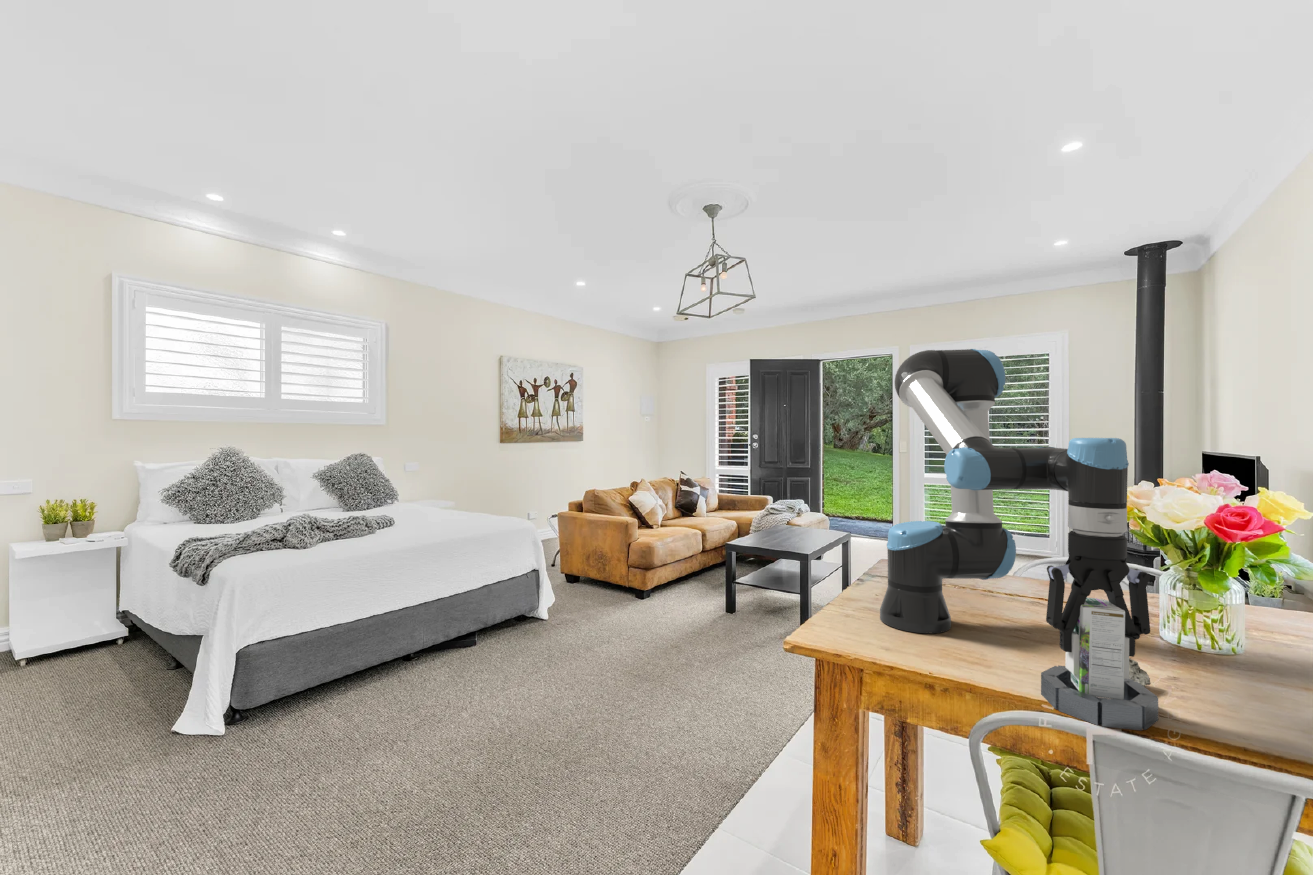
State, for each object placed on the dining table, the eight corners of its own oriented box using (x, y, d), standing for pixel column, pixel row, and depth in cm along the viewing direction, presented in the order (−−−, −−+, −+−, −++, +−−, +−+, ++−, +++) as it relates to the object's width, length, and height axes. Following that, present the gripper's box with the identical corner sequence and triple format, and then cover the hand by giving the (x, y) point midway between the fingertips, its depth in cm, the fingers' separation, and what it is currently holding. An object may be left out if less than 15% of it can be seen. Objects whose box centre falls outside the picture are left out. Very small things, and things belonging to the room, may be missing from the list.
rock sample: (1088, 671, 94) (1100, 630, 98) (1066, 684, 100) (1079, 644, 104) (1160, 711, 90) (1170, 665, 94) (1133, 721, 96) (1144, 678, 99)
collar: (1069, 723, 85) (1069, 700, 85) (1029, 682, 99) (1029, 663, 99) (1177, 733, 82) (1177, 710, 82) (1121, 690, 95) (1121, 670, 95)
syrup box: (1069, 680, 94) (1069, 595, 94) (1112, 685, 92) (1112, 599, 92) (1081, 695, 89) (1081, 605, 88) (1126, 701, 86) (1126, 609, 86)
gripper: (1040, 534, 88) (1040, 677, 89) (1183, 538, 84) (1182, 689, 84) (1020, 526, 96) (1020, 658, 96) (1151, 530, 91) (1151, 668, 92)
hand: (1096, 672), depth 90 cm, fingers closed on syrup box, 6 cm apart
